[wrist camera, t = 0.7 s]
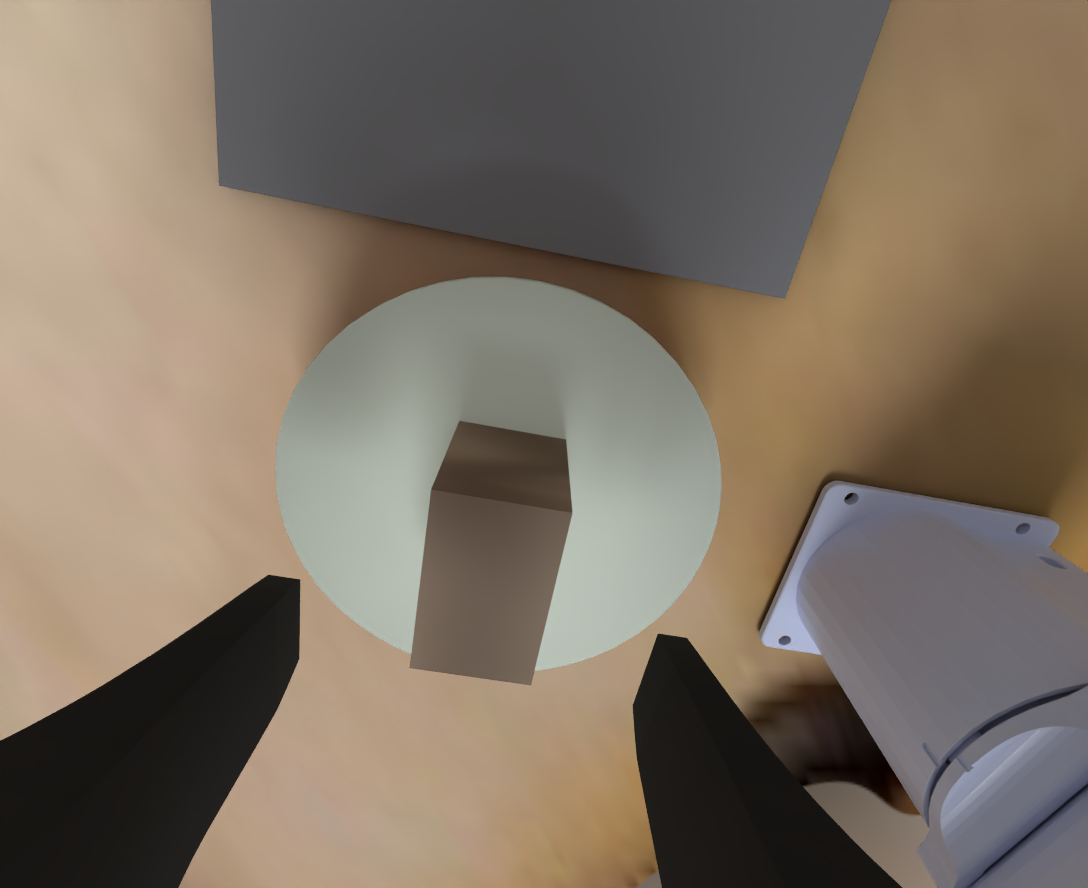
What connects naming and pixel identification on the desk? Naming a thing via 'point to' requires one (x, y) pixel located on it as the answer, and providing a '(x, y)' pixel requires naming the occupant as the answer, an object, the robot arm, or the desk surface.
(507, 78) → the mat
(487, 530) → the lid
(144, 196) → the desk surface
